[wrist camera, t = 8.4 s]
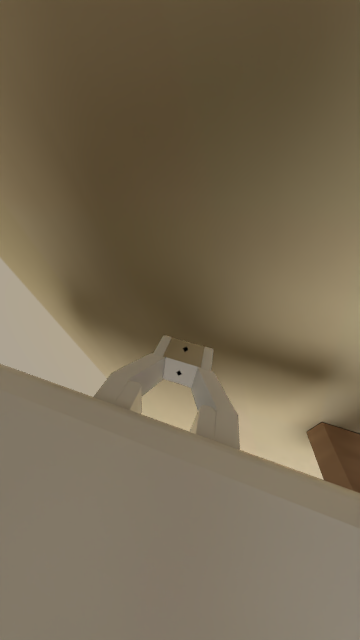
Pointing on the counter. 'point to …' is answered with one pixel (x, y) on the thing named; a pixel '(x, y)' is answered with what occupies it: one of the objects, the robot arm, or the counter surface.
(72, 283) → the counter surface
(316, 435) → the bridge
